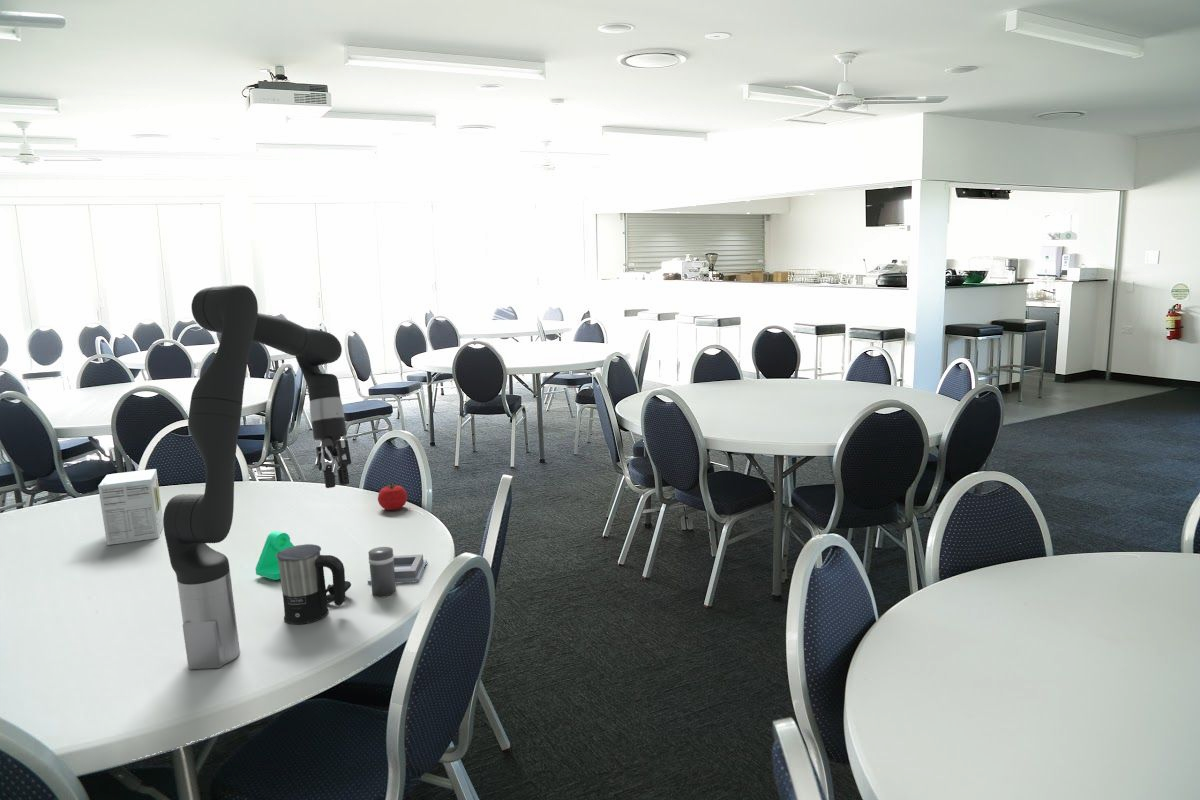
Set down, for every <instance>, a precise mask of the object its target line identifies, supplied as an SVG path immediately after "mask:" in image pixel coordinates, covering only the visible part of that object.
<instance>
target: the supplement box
mask: <svg viewBox="0 0 1200 800" xmlns="http://www.w3.org/2000/svg"><path fill="white" fill-rule="evenodd" d="M97 487H98V488H97V489H98V493H99V495H98V496H99V502H100V509H101V513H102V521H103V526H104V533H105V541H106V545H107V546H110V545H117V544H126V543H133V542H139V541H147V540H155V539H159V538H160V535H161V533H162V531H163V529H164V525H163V517H164V513H163V507H162V501H161V493H160V486H159V481H158V473H157V468H152V469H143V470H141V469H140V470H134V471H125V472H117V473H111V474H106V475H105V476H104V478H103V479H102V480H101V482H100V483H99V484H98V485H97Z"/></svg>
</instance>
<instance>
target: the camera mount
mask: <svg viewBox="0 0 1200 800" xmlns="http://www.w3.org/2000/svg"><path fill="white" fill-rule="evenodd" d="M293 546H295V545H294V543H292V542H291V538H290V535H289V534H288V533H286V532H282V531H279V530H273V531H271V532H270V533H269V534H268V535H267V537H266V540H265V542H264V546H263V548H262V551H261V553H260V556H259V559H258V561H257V563H256V566H255V575H256V576H259V577H262V578H263V577H264V578H267V579H270V580H276V581H277V580H281V579H280V571H279V563H278V559H277V558H276V554H277V553H278V552H280V551H282V550H284V549H286V548H289V547H293Z"/></svg>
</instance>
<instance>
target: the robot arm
mask: <svg viewBox="0 0 1200 800" xmlns="http://www.w3.org/2000/svg"><path fill="white" fill-rule="evenodd" d="M191 313H192V316H193V319H194V320H195V322H196V323H197V324H198V325H199V326H200V327H201V328H203V329H204V330H206V331H209V332H213V333H219V334H221V335H220V340H219V344H218V348H217V351H216V352H215V355H213V357H212V360H211V361H210V363H209V364H208V366H207V367H206V368H205V370H204V371H203V372H202V374H201V376H200V377H199V378H198V380H197V381H196V384H195V386H193V389H192V393H191V396H190V404H189V411H188V418H187V427H188V430H189V433H190V436H191V439H192V440H193V442H194V444H195V446H196V447H195V448H197V451H198V452H199V454H200V457H201V459H202V462H203V463H204V471H205V485H204V486H205V487H204V493H203V494H201V493H192V494H191V493H184V494H177V495H174V496H173V497H172V498H170V499H169V501H168V502H167V503H166V505H165V508H164V512H163V525H164V526H163V531H164V537H165V543H166V547H167V548H166V549H167V552H168V556H169V561H170V565H171V568H172V570H173V571H174V573H175V576H176V581H177V588H178V589H177V590H178V597H179V604H180V610H181V617H182V632H183V639H184V644H185V653H186V654H185V655H186V661H187V667H188V670H205V669H220V668H222V667H223V666H224V665H226V664H228V663H230V662H232V661H234V660H235V659H237V658H238V656H239V655H240V653H241V648H240V641H239V632H238V625H237V618H236V617H237V616H236V608H235V601H234V595H233V594H234V593H233V587H232V586H233V585H232V578H231V568H230V563H229V558H228V557H227V556H226V554H223V553H222V552H219V551H217V550H215V549H213V548H212V547H210V546H209V545H208V544H217V543H221V542H222V541H224V540H225V539H226V538H227V537H228V535H229V533H230V531H231V528H232V524H233V519H234V518H233V517H234V506H235V505H234V504H235V503H234V502H235V500H234V499H235V471H236V470H235V469H236V457H237V456H236V455H237V447H238V440H239V439H238V438H239V431H240V424H241V419H242V410H243V401H244V400H243V398H244V389H245V384H246V383H245V381H246V375H247V369H248V362H249V357H250V354H251V353H250V352H251V348H252V344H253V342H256V343H259V344H262V345H265V346H266V347H267V346H268V347H270V348H273V349H275V350H277V351H281V352H283V353H285V354H287V355H290V356H294V357H295V359H296V361H297V364H298V365H299V369H300V371H301V373H302V375H303V378H304V381H305V383H306V385H307V392H308V398H309V414H310V421H311V422H310V423H311V429H312V434H313V435H312V438H313V440H315V441H320V442H321V445H317V446H316V448H315V451H316V457H317V459H316V460H317V467H318V471H320V472H321V473H322V474H323V480H324V485H325V488H326V489H331V488H335V487H336V479H335V473H334V467H336V469H337V470H336V473H337V478H338V485H339V486H347V485H349V484H350V477H349V471H348V469H349V467H350V465H351V464H352V459H351V452H350V446H349V441H348V439H347V438H344V437H346V436H347V433H348V432H347V425H346V418H345V412H344V405H343V403H342V398H341V393H340V384H339V380H338V377H337V375H335V374H334V373H323V372H322V371H321V369H320V367H319V366H322V365H326V364H331V363H334V362H336V361H338V360H339V359H340V358H341V355H342V352H343V351H342V350H343V349H342V348H343V347H342V345H341V341H340V340H339V338H337V336H335V335H334V334H332V333H330V332H327V331H324V330H319V329H315V328H308V327H304V326H302V325H300V324H298V323H297V322H293V321H291V320H290V319H289V320H288V319H286V318H283V317H279V316H274V315H269V314H265V313H259V304H258V299H257V296H256V294H255V293H254V291H253V290H252V288H250V287H249V286H247V285H245V284H227V285H217V286H209V287H205V288H202V289H200V290H199V291H198V292H196V293H195V295H194V296H193V298H192V301H191ZM342 438H343V439H342Z"/></svg>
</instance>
